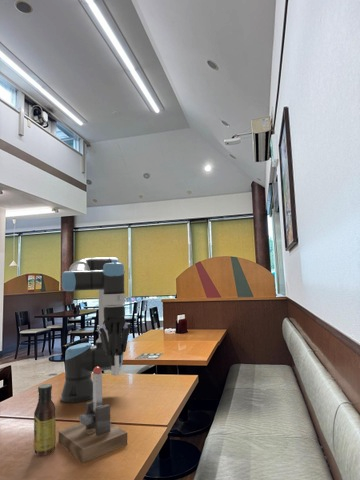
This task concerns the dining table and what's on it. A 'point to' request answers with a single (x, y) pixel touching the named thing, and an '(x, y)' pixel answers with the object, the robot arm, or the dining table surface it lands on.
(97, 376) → the lever
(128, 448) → the dining table surface
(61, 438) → the base
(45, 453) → the sauce bottle
